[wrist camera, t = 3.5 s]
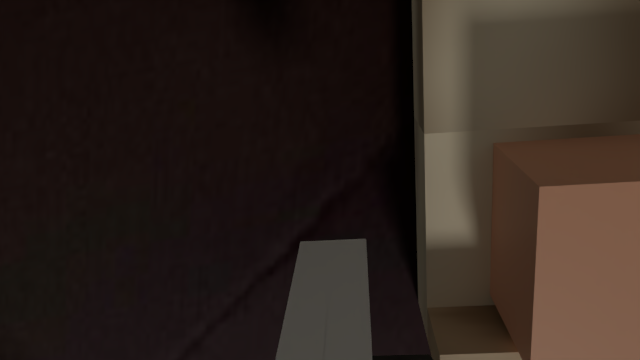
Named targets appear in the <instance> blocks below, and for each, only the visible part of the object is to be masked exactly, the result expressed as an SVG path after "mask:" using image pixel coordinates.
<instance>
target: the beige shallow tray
mask: <svg viewBox="0 0 640 360" xmlns="http://www.w3.org/2000/svg"><path fill="white" fill-rule="evenodd" d="M412 41H413V87H414V133H415V179H416V225H417V271H418V302H419V306H420V310H421V314H422V318H423V323H424V327H425V331H426V335H427V339H428V343H429V347H430V351H431V356H432V359H433V360H522V358H521V356H520V354H519V352H518V350H517V348H516V346H515V344H514V342H513V340H512V338H511V336H510V334H509V332H508V330H507V328H506V326H505V324H504V322H503V320H502V318H501V316H500V314H499V312H498V310H497V308H496V306H495V304H494V302H493V300H492V298H491V295H490V269H491V227H492V184H493V143H501V142H518V141H534V140H551V139H568V138H584V137H601V136H618V135H634V134H640V0H412Z"/></svg>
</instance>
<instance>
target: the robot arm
mask: <svg viewBox="0 0 640 360" xmlns="http://www.w3.org/2000/svg"><path fill="white" fill-rule="evenodd" d="M276 360H433V359H432V357H431V356H430V355H392V356H372V344H371V325H370V306H369V287H368V268H367V249H366V239H350V240H328V241H305V242H300V247H299V252H298V256H297V261H296V266H295V270H294V275H293V280H292V284H291V289H290V294H289V299H288V303H287V308H286V313H285V317H284V322H283V327H282V332H281V336H280V341H279V346H278V350H277V355H276Z"/></svg>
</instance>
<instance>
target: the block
mask: <svg viewBox="0 0 640 360" xmlns="http://www.w3.org/2000/svg"><path fill="white" fill-rule="evenodd" d="M490 295H491V298H492V300H493V302H494V304H495V306H496V308H497V310H498V312H499V314H500V316H501V318H502V320H503V322H504V324H505V326H506V328H507V330H508V332H509V334H510V336H511V338H512V340H513V342H514V344H515V346H516V348H517V350H518V352H519V354H520V356H521V358H522V360H640V134H634V135H618V136H601V137H584V138H568V139H551V140H534V141H518V142H501V143H493V184H492V227H491V269H490Z"/></svg>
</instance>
